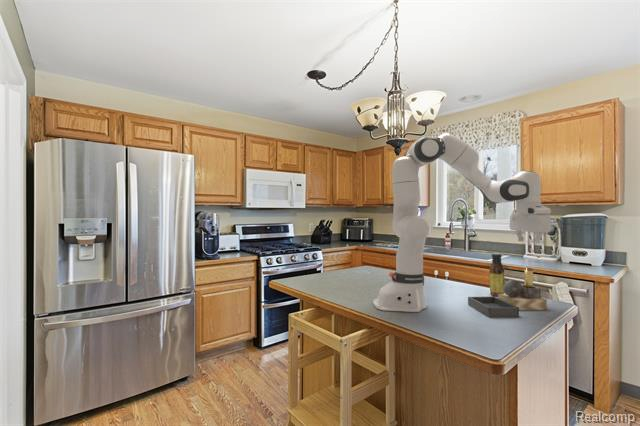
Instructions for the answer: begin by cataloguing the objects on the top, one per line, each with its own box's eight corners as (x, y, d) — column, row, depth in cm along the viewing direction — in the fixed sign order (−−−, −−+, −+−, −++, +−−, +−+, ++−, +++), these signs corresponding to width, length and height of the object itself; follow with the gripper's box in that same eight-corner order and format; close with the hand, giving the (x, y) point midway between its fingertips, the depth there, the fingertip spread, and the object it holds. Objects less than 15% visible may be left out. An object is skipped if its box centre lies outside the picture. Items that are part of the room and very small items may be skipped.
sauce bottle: (506, 297, 145) (506, 254, 145) (492, 296, 147) (492, 254, 146) (501, 293, 152) (501, 253, 152) (487, 293, 153) (487, 252, 153)
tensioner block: (512, 310, 127) (512, 283, 127) (497, 302, 137) (497, 277, 137) (546, 309, 128) (546, 282, 127) (529, 302, 138) (529, 277, 137)
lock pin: (527, 297, 131) (527, 269, 131) (522, 295, 134) (522, 267, 134) (534, 297, 131) (534, 268, 131) (529, 295, 134) (529, 267, 134)
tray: (518, 316, 119) (518, 307, 119) (489, 317, 119) (489, 308, 118) (494, 304, 135) (494, 296, 135) (468, 305, 134) (468, 296, 134)
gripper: (505, 209, 142) (505, 240, 142) (538, 209, 122) (539, 244, 122) (518, 209, 143) (518, 239, 143) (554, 209, 122) (554, 244, 122)
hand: (528, 242), depth 132 cm, fingers open, 8 cm apart
